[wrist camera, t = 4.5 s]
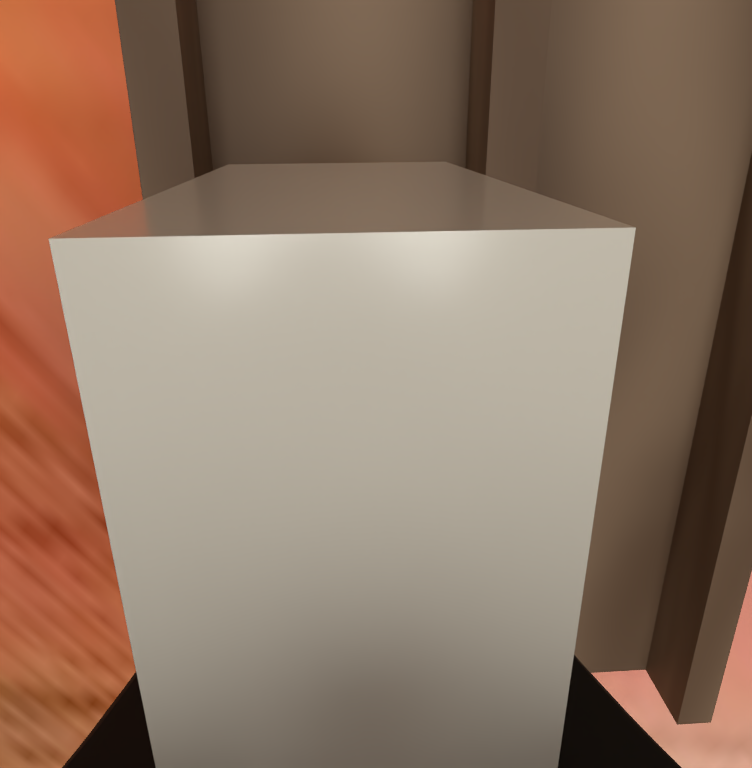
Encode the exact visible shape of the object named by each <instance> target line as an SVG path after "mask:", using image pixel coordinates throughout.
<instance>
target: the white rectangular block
mask: <svg viewBox="0 0 752 768" xmlns="http://www.w3.org/2000/svg"><path fill="white" fill-rule="evenodd" d="M635 230H636V227H633V226H630V225H627V224H624V223H621V222H619V221H616V220H613V219H610V218H607V217H604V216H601V215H598V214H595V213H593V212H590V211H587V210H584V209H581V208H578V207H575V206H572V205H569V204H567V203H564V202H561V201H558V200H555V199H552V198H549V197H546V196H543V195H541V194H538V193H535V192H532V191H529V190H526V189H523V188H520V187H517V186H515V185H512V184H509V183H506V182H503V181H500V180H497V179H494V178H492V177H489V176H486V175H483V174H480V173H477V172H474V171H471V170H468V169H466V168H463V167H460V166H457V165H454V164H451V163H448V162H379V163H300V164H228V165H226V166H223V167H221V168H218V169H216V170H214V171H211V172H209V173H206V174H204V175H202V176H199V177H197V178H194V179H192V180H189V181H187V182H185V183H182V184H180V185H177V186H175V187H172V188H170V189H168V190H165V191H163V192H160V193H158V194H156V195H153V196H151V197H148V198H146V199H143V200H141V201H139V202H136V203H134V204H131V205H129V206H127V207H124V208H122V209H119V210H117V211H114V212H112V213H110V214H107V215H105V216H102V217H100V218H97V219H95V220H93V221H90V222H88V223H85V224H83V225H81V226H78V227H76V228H73V229H71V230H68V231H66V232H64V233H61V234H59V235H56V236H54V237H52V238H49V243H50V248H51V253H52V258H53V263H54V267H55V272H56V277H57V282H58V287H59V292H60V297H61V302H62V307H63V312H64V317H65V322H66V327H67V332H68V337H69V342H70V347H71V351H72V356H73V361H74V366H75V371H76V376H77V381H78V386H79V391H80V396H81V401H82V406H83V411H84V416H85V421H86V426H87V431H88V436H89V440H90V445H91V450H92V455H93V460H94V465H95V470H96V475H97V480H98V485H99V490H100V495H101V500H102V505H103V510H104V515H105V520H106V524H107V529H108V534H109V539H110V544H111V549H112V554H113V559H114V564H115V569H116V574H117V579H118V584H119V589H120V594H121V599H122V604H123V609H124V613H125V618H126V623H127V628H128V633H129V638H130V643H131V648H132V653H133V658H134V663H135V668H136V673H137V678H138V683H139V688H140V693H141V697H142V702H143V707H144V712H145V717H146V722H147V727H148V732H149V737H150V742H151V747H152V752H153V757H154V762H155V767H156V768H558V762H559V755H560V748H561V741H562V734H563V727H564V720H565V713H566V707H567V700H568V693H569V686H570V679H571V672H572V665H573V658H574V651H575V644H576V638H577V631H578V624H579V617H580V610H581V603H582V596H583V589H584V582H585V575H586V569H587V562H588V555H589V548H590V541H591V534H592V527H593V520H594V513H595V506H596V499H597V493H598V486H599V479H600V472H601V465H602V458H603V451H604V444H605V437H606V430H607V424H608V417H609V410H610V403H611V396H612V389H613V382H614V375H615V368H616V361H617V355H618V348H619V341H620V334H621V327H622V320H623V313H624V306H625V299H626V292H627V286H628V279H629V272H630V265H631V258H632V251H633V244H634V237H635Z"/></svg>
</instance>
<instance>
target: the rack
mask: <svg viewBox="0 0 752 768" xmlns="http://www.w3.org/2000/svg"><path fill="white" fill-rule="evenodd" d="M115 5H116V12H117V19H118V26H119V33H120V40H121V47H122V54H123V62H124V69H125V76H126V83H127V90H128V97H129V104H130V111H131V118H132V125H133V132H134V140H135V147H136V154H137V161H138V168H139V175H140V182H141V189H142V196H143V199H146V198H148V197H151V196H153V195H156V194H158V193H160V192H163V191H165V190H168V189H170V188H172V187H175V186H177V185H180V184H182V183H185V182H187V181H189V180H192V179H194V178H197V177H199V176H202V175H204V174H206V173H209V172H211V171H214V170H216V169H218V168H221V167H223V166H226V165H228V164H300V163H379V162H448V163H451V164H454V165H457V166H460V167H463V168H466V169H468V170H471V171H474V172H477V173H480V174H483V175H486V176H489V177H492V178H494V179H497V180H500V181H503V182H506V183H509V184H512V185H515V186H517V187H520V188H523V189H526V190H529V191H532V192H535V193H538V194H541V195H543V196H546V197H549V198H552V199H555V200H558V201H561V202H564V203H567V204H569V205H572V206H575V207H578V208H581V209H584V210H587V211H590V212H593V213H595V214H598V215H601V216H604V217H607V218H610V219H613V220H616V221H619V222H621V223H624V224H627V225H630V226H633V227H636V230H635V237H634V244H633V251H632V258H631V265H630V272H629V279H628V286H627V292H626V299H625V306H624V313H623V320H622V327H621V334H620V341H619V348H618V355H617V361H616V368H615V375H614V382H613V389H612V396H611V403H610V410H609V417H608V424H607V430H606V437H605V444H604V451H603V458H602V465H601V472H600V479H599V486H598V493H597V499H596V506H595V513H594V520H593V527H592V534H591V541H590V548H589V555H588V562H587V569H586V575H585V582H584V589H583V596H582V603H581V610H580V617H579V624H578V631H577V638H576V644H575V651H574V655H575V656H576V657H577V658H578V659H579V660H580V662H581V663H582V664H583V665H584V666H585V667H586V668H587V669H588V671H589V672H590V673H594V672H611V671H628V670H645V669H646V671H647V673H648V674H649V676H650V678H651V680H652V681H653V683H654V685H655V687H656V688H657V690H658V692H659V694H660V695H661V697H662V699H663V701H664V702H665V704H666V706H667V707H668V709H669V711H670V713H671V714H672V716H673V718H674V720H675V721H676V723H677V724H692V723H708V722H711V720H712V716H713V712H714V709H715V705H716V701H717V697H718V694H719V690H720V686H721V683H722V679H723V675H724V671H725V668H726V664H727V660H728V656H729V653H730V649H731V645H732V641H733V638H734V634H735V630H736V627H737V623H738V619H739V615H740V612H741V608H742V604H743V600H744V597H745V593H746V589H747V586H748V582H749V578H750V574H751V571H752V0H115Z"/></svg>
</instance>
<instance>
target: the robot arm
mask: <svg viewBox="0 0 752 768" xmlns="http://www.w3.org/2000/svg"><path fill="white" fill-rule="evenodd" d="M62 768H156V767H155V762H154V757H153V752H152V747H151V742H150V737H149V732H148V727H147V722H146V717H145V712H144V707H143V702H142V697H141V693H140V688H139V683H138V678H137V673H135V674H134V675H133V677H132V678H131V680H130V681H129V682H128V684H127V685H126V686H125V688H124V689H123V690H122V692H121V693H120V694H119V695H118V697H117V698H116V699H115V701H114V702H113V703H112V705H111V706H110V707H109V709H108V710H107V711H106V713H105V714H104V715H103V717H102V718H101V719H100V721H99V722H98V723H97V725H96V726H95V727H94V729H93V730H92V731H91V732H90V734H89V735H88V736H87V738H86V739H85V740H84V741H83V743H82V744H81V745H80V746H79V748H78V749H77V750H76V751H75V753H74V754H73V755H72V756H71V758H70V759H69V760H68V761H67V762H66V764H65V765H64V766H63V767H62ZM558 768H681V767H680V766H679V765H678V764H677V763H676V762H675V761H674V760H673V759H672V758H671V757H670V756H669V755H668V754H667V753H666V752H665V751H664V750H663V749H662V748H661V747H660V746H659V745H658V744H657V743H656V742H655V741H654V740H653V739H652V738H651V737H650V736H649V735H648V734H647V733H646V732H645V731H644V730H643V729H642V728H641V726H640V725H639V724H638V723H637V722H636V721H635V720H634V719H633V718H632V717H631V716H630V715H629V714H628V713H627V712H626V711H625V710H624V709H623V708H622V706H621V705H620V704H619V703H618V702H617V701H616V700H615V699H614V698H613V697H612V696H611V695H610V693H609V692H608V691H607V690H606V689H605V688H604V687H603V686H602V685H601V684H600V683H599V682H598V680H597V679H596V678H595V677H594V676H593V675H592V674H591V673H590V672H589V671H588V669H587V668H586V667H585V666H584V665H583V664H582V663H581V662H580V660H579V659H578V658H577V657H576V656H575V655H574V658H573V665H572V672H571V679H570V686H569V693H568V700H567V707H566V713H565V720H564V727H563V734H562V741H561V748H560V755H559V762H558Z"/></svg>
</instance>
